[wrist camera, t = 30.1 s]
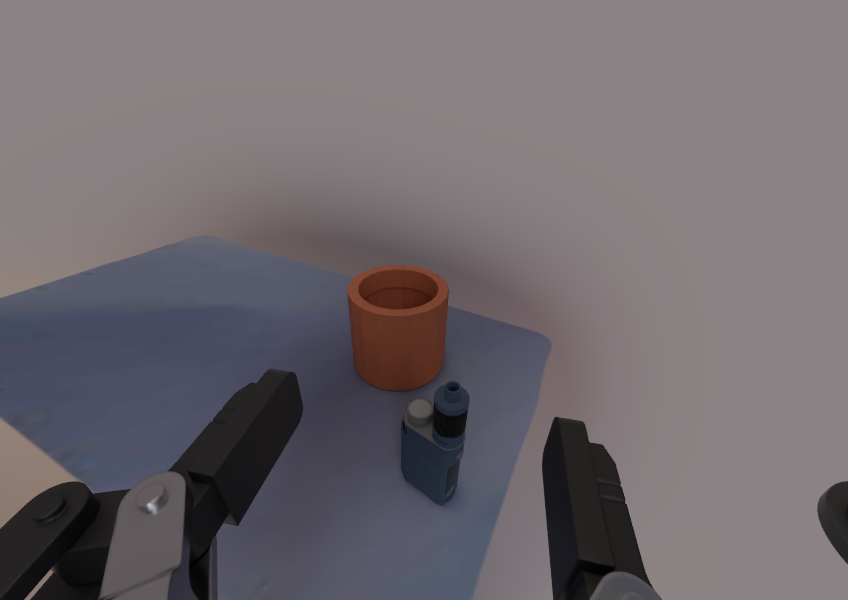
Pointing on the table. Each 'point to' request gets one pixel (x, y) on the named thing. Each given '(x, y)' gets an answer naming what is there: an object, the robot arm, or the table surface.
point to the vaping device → (435, 441)
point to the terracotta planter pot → (398, 325)
